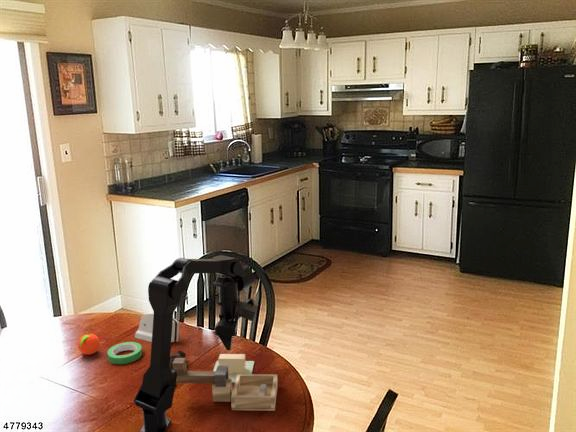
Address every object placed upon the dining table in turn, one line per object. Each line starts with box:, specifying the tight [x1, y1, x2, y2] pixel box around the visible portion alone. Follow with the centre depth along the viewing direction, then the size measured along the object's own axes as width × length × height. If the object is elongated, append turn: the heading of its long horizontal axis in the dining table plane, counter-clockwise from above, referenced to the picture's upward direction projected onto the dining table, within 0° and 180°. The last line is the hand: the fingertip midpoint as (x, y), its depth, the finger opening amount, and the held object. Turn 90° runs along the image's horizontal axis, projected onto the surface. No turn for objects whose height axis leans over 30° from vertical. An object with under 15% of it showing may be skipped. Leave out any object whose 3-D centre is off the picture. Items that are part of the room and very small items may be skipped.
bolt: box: [170, 350, 187, 370], centre depth 160 cm, size 6×5×15 cm
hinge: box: [134, 312, 180, 343], centre depth 183 cm, size 17×5×10 cm, turn 62°
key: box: [172, 357, 216, 384], centre depth 144 cm, size 3×12×6 cm, turn 87°
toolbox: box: [211, 366, 279, 411], centre depth 145 cm, size 12×18×9 cm, turn 87°
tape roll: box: [107, 341, 143, 365], centre depth 171 cm, size 11×11×3 cm
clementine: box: [77, 333, 101, 356], centre depth 172 cm, size 8×7×7 cm
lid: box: [212, 353, 255, 384], centre depth 159 cm, size 12×12×6 cm
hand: (231, 342), depth 157 cm, fingers open, 9 cm apart
